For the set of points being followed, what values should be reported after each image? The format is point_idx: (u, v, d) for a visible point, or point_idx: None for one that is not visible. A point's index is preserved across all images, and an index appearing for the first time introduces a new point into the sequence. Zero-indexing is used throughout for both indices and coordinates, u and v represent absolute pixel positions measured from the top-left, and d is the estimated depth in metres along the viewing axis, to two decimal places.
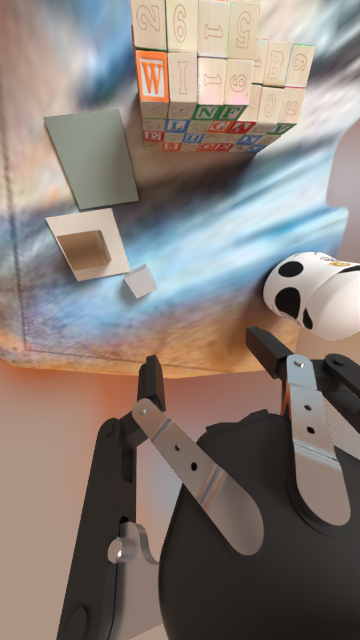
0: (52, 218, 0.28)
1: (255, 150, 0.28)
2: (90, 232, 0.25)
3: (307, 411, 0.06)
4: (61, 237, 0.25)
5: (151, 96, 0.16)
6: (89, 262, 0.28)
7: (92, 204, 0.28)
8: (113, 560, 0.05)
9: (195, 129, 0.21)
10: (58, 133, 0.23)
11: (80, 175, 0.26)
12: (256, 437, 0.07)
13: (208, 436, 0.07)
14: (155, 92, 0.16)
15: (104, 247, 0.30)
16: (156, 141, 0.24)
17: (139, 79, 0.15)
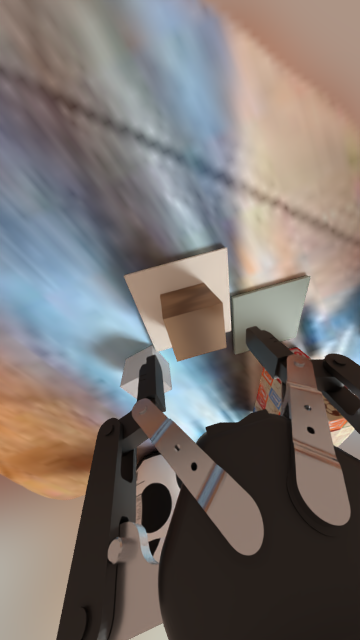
0: (225, 259, 0.18)
1: None
2: (224, 346, 0.17)
3: (307, 411, 0.06)
4: (220, 310, 0.14)
5: None
6: (179, 342, 0.15)
7: (236, 312, 0.22)
8: (113, 560, 0.05)
9: None
10: (297, 288, 0.21)
11: (263, 303, 0.22)
12: (256, 437, 0.07)
13: (208, 436, 0.07)
14: None
15: None
16: None
17: (339, 419, 0.19)
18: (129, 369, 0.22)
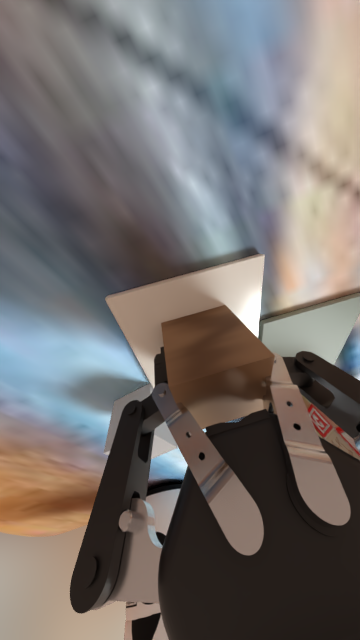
0: (260, 271, 0.12)
1: None
2: (262, 409, 0.11)
3: (290, 407, 0.07)
4: (268, 365, 0.08)
5: None
6: (195, 412, 0.09)
7: (265, 341, 0.16)
8: (123, 528, 0.05)
9: None
10: (349, 308, 0.16)
11: (302, 329, 0.16)
12: (256, 437, 0.07)
13: (208, 436, 0.07)
14: None
15: None
16: None
17: None
18: (118, 421, 0.16)
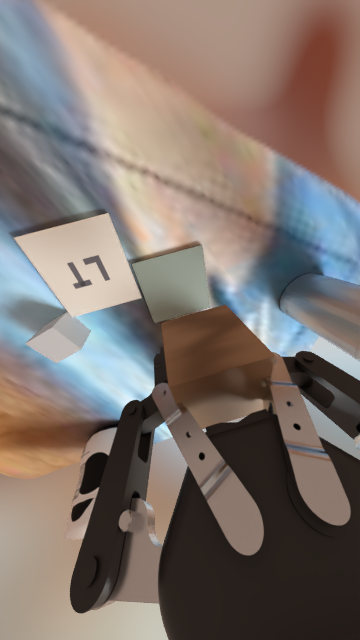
0: (110, 224, 0.20)
1: None
2: (262, 409, 0.11)
3: (290, 407, 0.07)
4: (268, 365, 0.08)
5: None
6: (195, 412, 0.09)
7: (140, 279, 0.24)
8: (123, 528, 0.05)
9: None
10: (193, 256, 0.24)
11: (164, 270, 0.24)
12: (256, 437, 0.07)
13: (208, 436, 0.07)
14: None
15: None
16: None
17: None
18: (41, 330, 0.24)
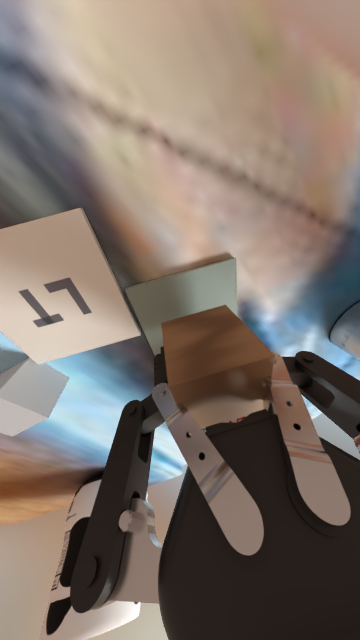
0: (85, 227, 0.11)
1: None
2: (262, 409, 0.11)
3: (290, 407, 0.07)
4: (268, 365, 0.08)
5: None
6: (195, 412, 0.09)
7: (138, 310, 0.16)
8: (123, 528, 0.05)
9: None
10: (220, 275, 0.15)
11: (175, 297, 0.16)
12: (256, 437, 0.07)
13: (208, 436, 0.07)
14: None
15: None
16: None
17: None
18: None
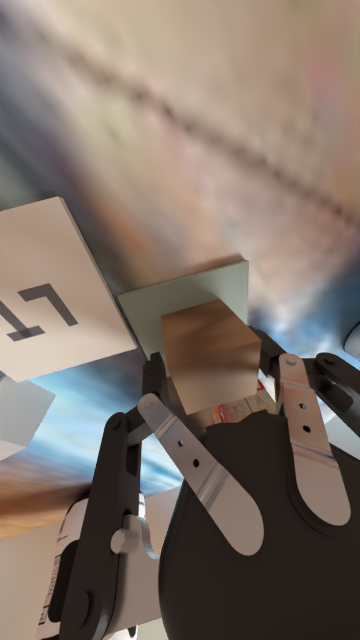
0: (66, 221, 0.09)
1: None
2: (253, 393, 0.12)
3: (302, 410, 0.07)
4: (256, 350, 0.09)
5: None
6: (191, 393, 0.10)
7: (133, 320, 0.13)
8: (116, 550, 0.05)
9: None
10: (229, 280, 0.13)
11: (177, 305, 0.13)
12: (256, 437, 0.07)
13: (208, 436, 0.07)
14: None
15: None
16: (218, 409, 0.20)
17: None
18: None
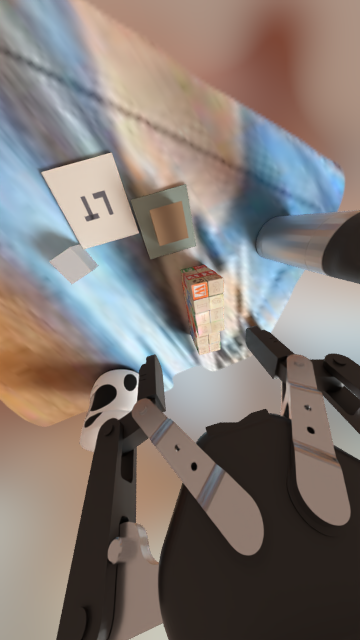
0: (113, 162, 0.26)
1: (191, 334, 0.48)
2: (187, 236, 0.28)
3: (307, 411, 0.06)
4: (181, 206, 0.26)
5: (193, 290, 0.28)
6: (160, 229, 0.27)
7: (137, 214, 0.30)
8: (113, 560, 0.05)
9: (190, 307, 0.36)
10: (179, 194, 0.30)
11: (156, 207, 0.30)
12: (256, 437, 0.07)
13: (208, 436, 0.07)
14: (195, 292, 0.29)
15: None
16: (183, 280, 0.36)
17: (198, 284, 0.28)
18: None
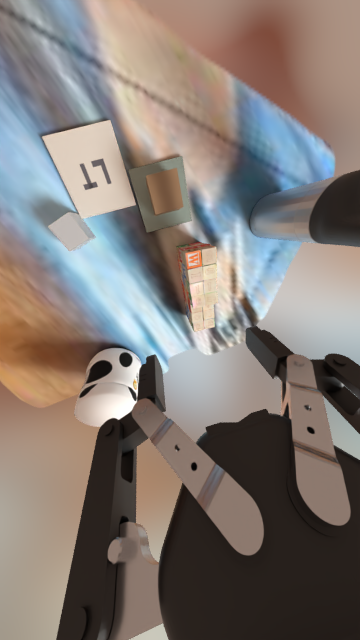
0: (112, 130, 0.27)
1: (187, 314, 0.49)
2: (182, 205, 0.29)
3: (307, 411, 0.06)
4: (176, 173, 0.27)
5: (187, 259, 0.30)
6: (156, 197, 0.28)
7: (134, 185, 0.31)
8: (113, 560, 0.05)
9: (185, 282, 0.37)
10: (175, 166, 0.31)
11: None
12: (256, 437, 0.07)
13: (208, 436, 0.07)
14: (189, 261, 0.30)
15: (166, 212, 0.33)
16: (179, 256, 0.38)
17: (192, 252, 0.29)
18: None
